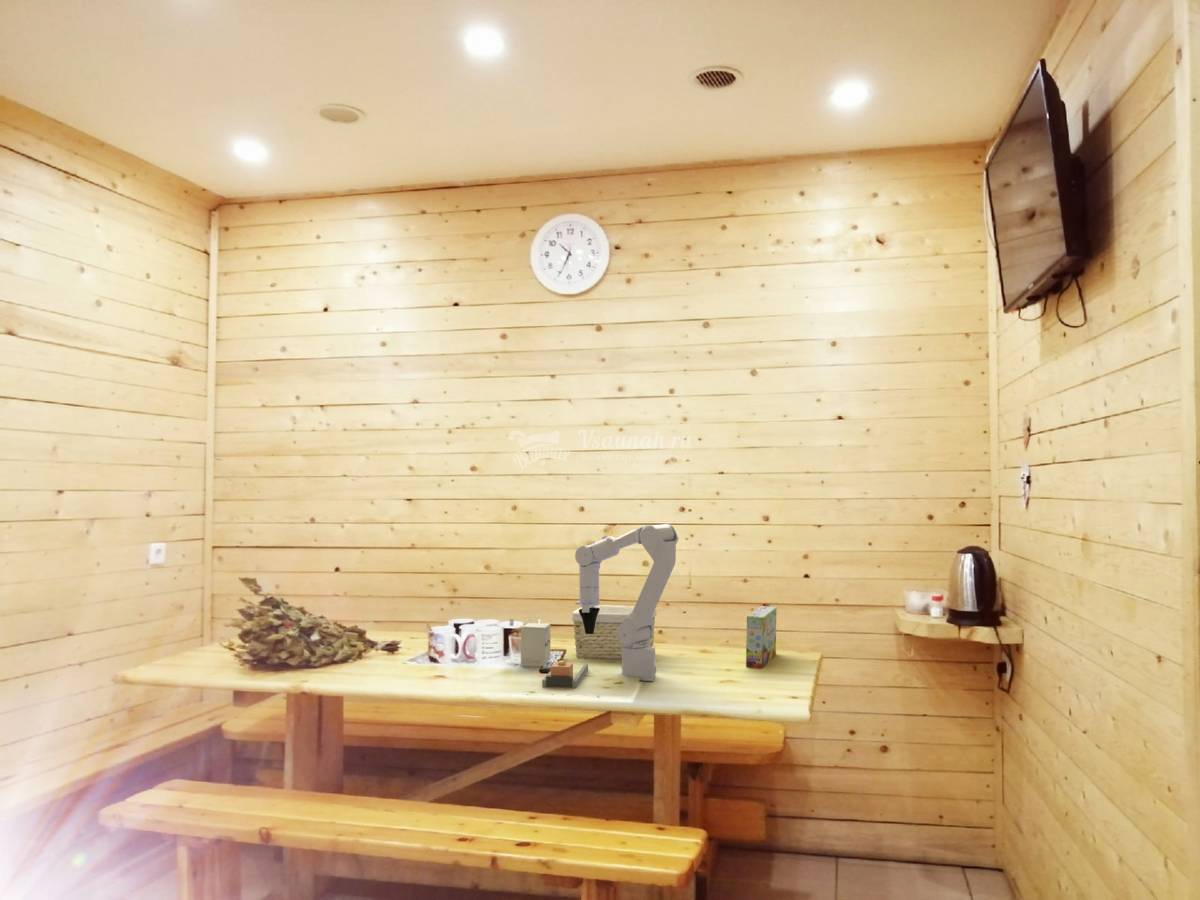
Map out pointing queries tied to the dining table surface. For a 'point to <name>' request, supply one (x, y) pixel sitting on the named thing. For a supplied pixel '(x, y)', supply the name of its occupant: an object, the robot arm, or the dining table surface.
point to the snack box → (761, 637)
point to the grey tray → (564, 679)
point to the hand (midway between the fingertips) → (589, 633)
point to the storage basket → (602, 633)
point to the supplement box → (535, 644)
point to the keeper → (562, 668)
